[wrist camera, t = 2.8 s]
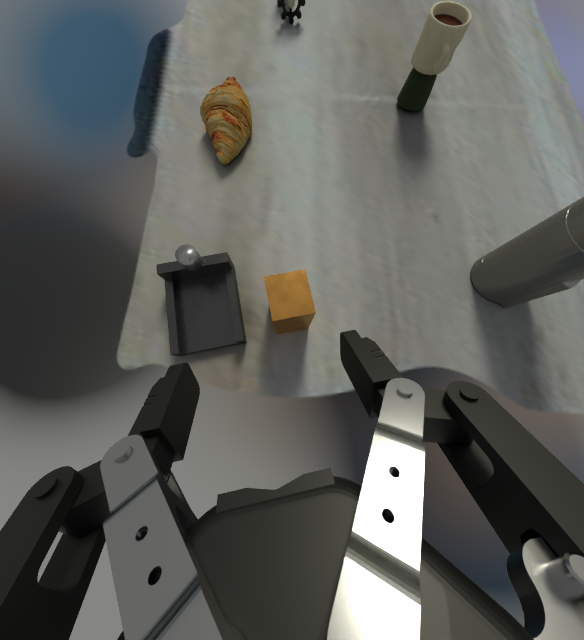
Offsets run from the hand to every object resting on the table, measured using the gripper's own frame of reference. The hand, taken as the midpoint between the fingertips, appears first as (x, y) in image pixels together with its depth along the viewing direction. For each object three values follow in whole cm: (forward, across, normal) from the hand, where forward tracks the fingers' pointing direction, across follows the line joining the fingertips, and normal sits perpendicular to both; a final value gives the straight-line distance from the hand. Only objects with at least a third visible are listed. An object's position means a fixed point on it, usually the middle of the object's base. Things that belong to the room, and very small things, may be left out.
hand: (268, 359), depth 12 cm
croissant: (+54, +2, -18) cm, 57 cm away
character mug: (+54, -39, -19) cm, 69 cm away
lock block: (+24, -3, +11) cm, 26 cm away
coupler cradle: (+26, +10, +9) cm, 29 cm away
